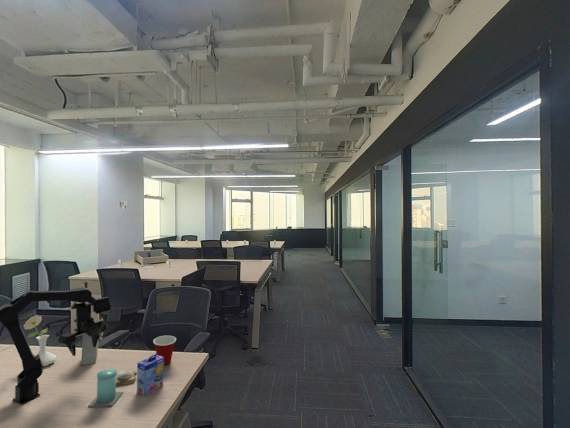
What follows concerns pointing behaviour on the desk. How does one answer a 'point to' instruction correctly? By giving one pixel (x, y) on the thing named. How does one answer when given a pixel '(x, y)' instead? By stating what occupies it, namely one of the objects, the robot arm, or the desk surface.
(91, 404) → the mat
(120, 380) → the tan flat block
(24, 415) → the desk surface
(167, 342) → the plastic cup
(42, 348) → the flower in vase
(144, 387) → the ink cartridge box
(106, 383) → the teal rounded cylinder
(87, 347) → the skincare box
